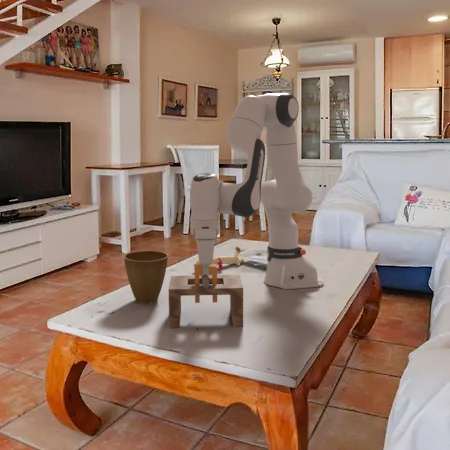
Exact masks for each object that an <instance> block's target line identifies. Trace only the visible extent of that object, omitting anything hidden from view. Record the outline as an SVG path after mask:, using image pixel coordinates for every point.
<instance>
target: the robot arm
mask: <svg viewBox="0 0 450 450" xmlns="http://www.w3.org/2000/svg"><path fill="white" fill-rule="evenodd" d="M299 107H300V106H299V103H298V100H297V98H296V97H295V96H294V95H293V94H292V93H287V92H282V93H276V92H275V93H265V94H260V95H246V96H244V97H242V99H240V101H239V103H238V104H237V106H236V107H235V109H234V112H233V113H232V116H231V118H230V121H229V123H228V126H227V129H226V134H225V136H226V137H225V138H226V140H227V141H226V142H227V143H228V145H229V147H230V148H231V149H232V150H234V151H235V153H237V154H239V155H241V156H243V157H246V158H247V165H246V166H247V167H246V172H245V177H244V180H243V181H242V182H240V183H231V182H224V181H222V180H220V179H218V176H217V174H215V173H212V172H204V173H199V174H196V175H194V176H192V179H191V183H190V188H189V189H190V191H189V206H190V208H191V213H190V217H189V219H190V225H189V226H190V234H191V235H192V236H193V237H194V240H195V241H196V247H197V248H196V249H197V254H198V260H199V263H200V265H202V266H203V274H204V275H208V274H209V265H212V262H213V258H214V251H215V243H216V239H217V238H218V235H219V234H220V232H221V230H220V229H221V225H220V224H221V223H220V220H221V218H220V214H224V215H233V216H237V217H242V218H250V217H251V216H253V215H255V213H257V212H258V210H259V208H260V207H261V205H262V206H263V207H262V208H263V210H264V212H265V216H266V219H267V226H268V245H267V250H266V259H267V266H266V272H265V276H264V280H263V282H264V284H265V285H267V286H271V287H276V288H281V289H284V290H293V289H294V290H295V289H306V288H319V286H320V287H322V286H323V285H324V280H323V278H322V277H320V276H319V275H318V271H317V267H316V266H315V264H314V263H312V262H311V261H310V260H308V259H307V258H306V257H305V255H306V253H307V250H305V249H304V248H303V247H301V246H300V245H299V227H298V224H297V223H296V221H295V220H294V217H293V215H292V214H293V213H304V212H306V211H307V210H308V209H309V208H310V207H311V205H312V202H313V193H312V191H311V189H310V188H309V186H307V184H306V182H305V180H304V179H303V176H302V172H301V171H300V170H301V169H300V165H299V161H298V160H299V159H298V144H297V143H298V142H297V131H296V127H295V122H296V120H297V117H298V116H299V111H300V110H299V109H300V108H299ZM265 127H266V133H265V134H266V135H265V141H266V142H265V143H264V141H263V140H262V138H261V136H262V134H263V130H264V128H265ZM265 144H266V146H265ZM265 161H267V167H268V169H269V170H270V171H271V173H272V174H273V176H274V179H271V180H267V181H264V182H262V181H263V175H264V168H265ZM209 275H210V274H209Z"/></svg>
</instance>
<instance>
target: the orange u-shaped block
mask: <svg viewBox="0 0 450 450" xmlns="http://www.w3.org/2000/svg"><path fill="white" fill-rule="evenodd" d="M194 264H195V266H194V276H195V285H199V275H202V274H203V266H202V265H200V264H196V263H194ZM209 275H212V284H211V285H218V284H217V275H218V265H217V264H212V265H209ZM200 297H201V295H194V302H195V303H194V304H200V303H201V299H200ZM211 297H212V299H211V300H212V303H218V295H211Z"/></svg>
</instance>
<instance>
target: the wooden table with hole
mask: <svg viewBox="0 0 450 450" xmlns="http://www.w3.org/2000/svg"><path fill="white" fill-rule="evenodd" d="M168 285H169V286H168V322H169V325H168V326H169V329H180V327H181V319H182V318H181V316H182V299H181V298H182V296H183V297H184V296H195V295H200V296H212V295H217V296H222V295H223V296H228V295H229V296H230V297H229V299H230V301H229V303H230V304H229V305H230V317H231V320H232V321H231V322H232V327H235V328H237V327H244V285H243V282H242V279H241V275H240V274H217V285H212V274H208V275H204V274H200V275H199V285H195V275H170V279H169V284H168Z"/></svg>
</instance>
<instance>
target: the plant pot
mask: <svg viewBox="0 0 450 450" xmlns="http://www.w3.org/2000/svg"><path fill="white" fill-rule="evenodd" d="M168 259H169V254H168V253H166V252H163V251H158V250H136V251H131V252H127V253H125V254H124V255H123V261H124V266H125V267H124V268H125V272H126V276H127V280H128V284H129V286H130V289H131V292H132V295H133V297H134V299H135V301H136V302H137V303H140V304H152V303H153V304H154V303H155V302H157V301H158V299H159V296H160V293H161V291H162V287H163V285H164V284H163V283H164V281H165V276H166V271H167V265H168Z"/></svg>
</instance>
